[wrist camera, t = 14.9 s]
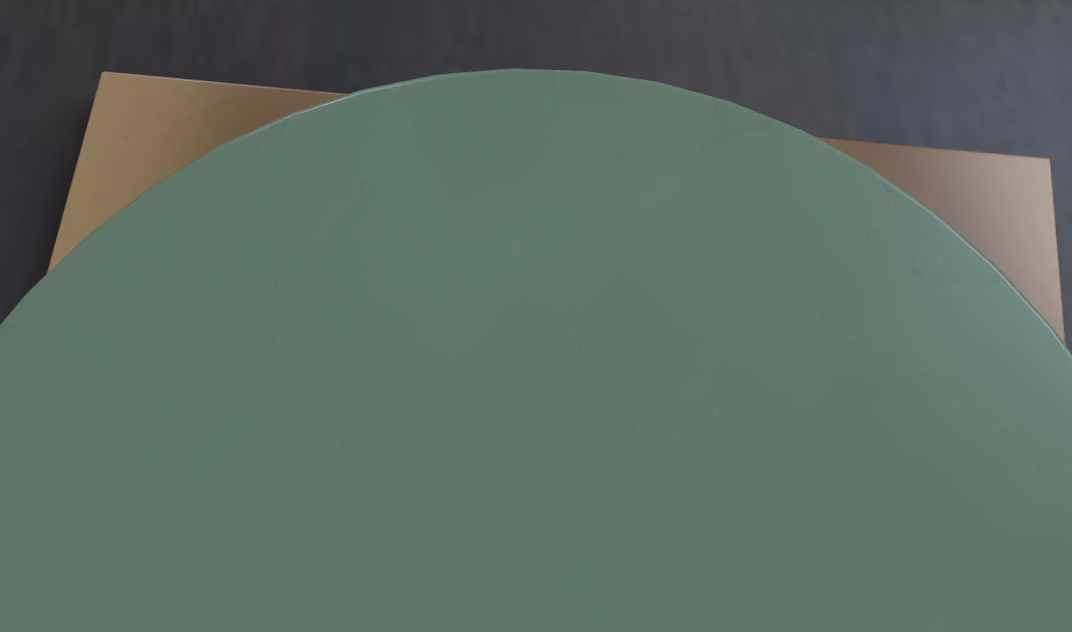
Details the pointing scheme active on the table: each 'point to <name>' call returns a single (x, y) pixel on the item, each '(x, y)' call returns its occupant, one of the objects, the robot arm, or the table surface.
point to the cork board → (235, 109)
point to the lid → (531, 385)
